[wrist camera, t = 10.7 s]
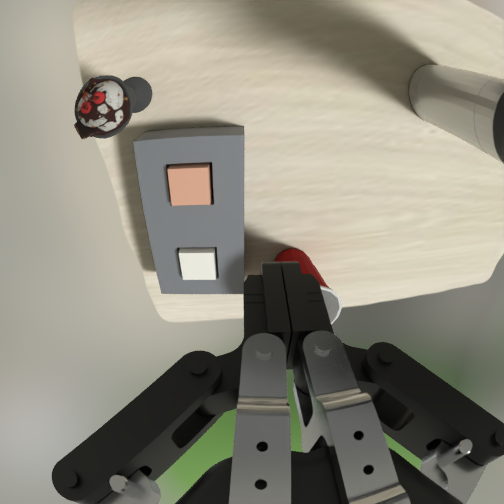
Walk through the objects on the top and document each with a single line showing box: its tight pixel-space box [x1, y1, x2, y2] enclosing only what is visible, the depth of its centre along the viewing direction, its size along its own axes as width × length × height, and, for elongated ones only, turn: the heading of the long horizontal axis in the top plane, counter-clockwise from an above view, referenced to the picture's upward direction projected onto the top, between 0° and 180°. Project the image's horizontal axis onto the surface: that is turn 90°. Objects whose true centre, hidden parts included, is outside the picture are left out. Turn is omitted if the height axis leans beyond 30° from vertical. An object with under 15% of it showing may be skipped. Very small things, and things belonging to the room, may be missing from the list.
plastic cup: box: [274, 249, 342, 324], centre depth 44 cm, size 11×11×12 cm
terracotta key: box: [168, 162, 213, 206], centre depth 36 cm, size 5×5×4 cm
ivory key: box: [179, 247, 217, 280], centre depth 43 cm, size 5×5×4 cm
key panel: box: [133, 126, 244, 294], centre depth 40 cm, size 13×24×5 cm, turn 179°
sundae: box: [74, 76, 152, 139], centre depth 26 cm, size 7×7×15 cm
